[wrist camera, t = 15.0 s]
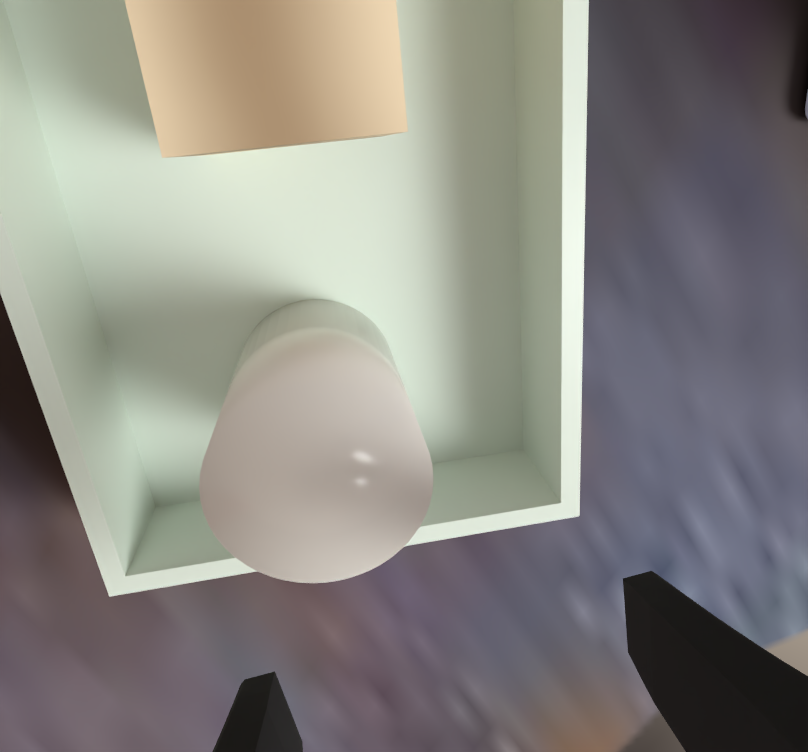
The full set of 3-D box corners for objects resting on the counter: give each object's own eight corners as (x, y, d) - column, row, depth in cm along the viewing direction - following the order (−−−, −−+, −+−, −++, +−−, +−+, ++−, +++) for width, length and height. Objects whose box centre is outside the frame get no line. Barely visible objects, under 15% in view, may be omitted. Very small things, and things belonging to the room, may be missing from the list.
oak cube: (360, -75, 15) (380, -174, 10) (382, 136, 17) (407, 131, 12) (159, -60, 15) (86, -157, 10) (205, 155, 16) (162, 157, 12)
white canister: (391, 294, 19) (432, 373, 12) (395, 436, 20) (433, 570, 14) (229, 303, 18) (181, 391, 11) (248, 448, 20) (216, 594, 13)
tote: (525, -208, 15) (594, -325, 11) (534, 454, 22) (579, 515, 18) (-70, -180, 14) (-215, -302, 10) (146, 516, 21) (109, 596, 17)
